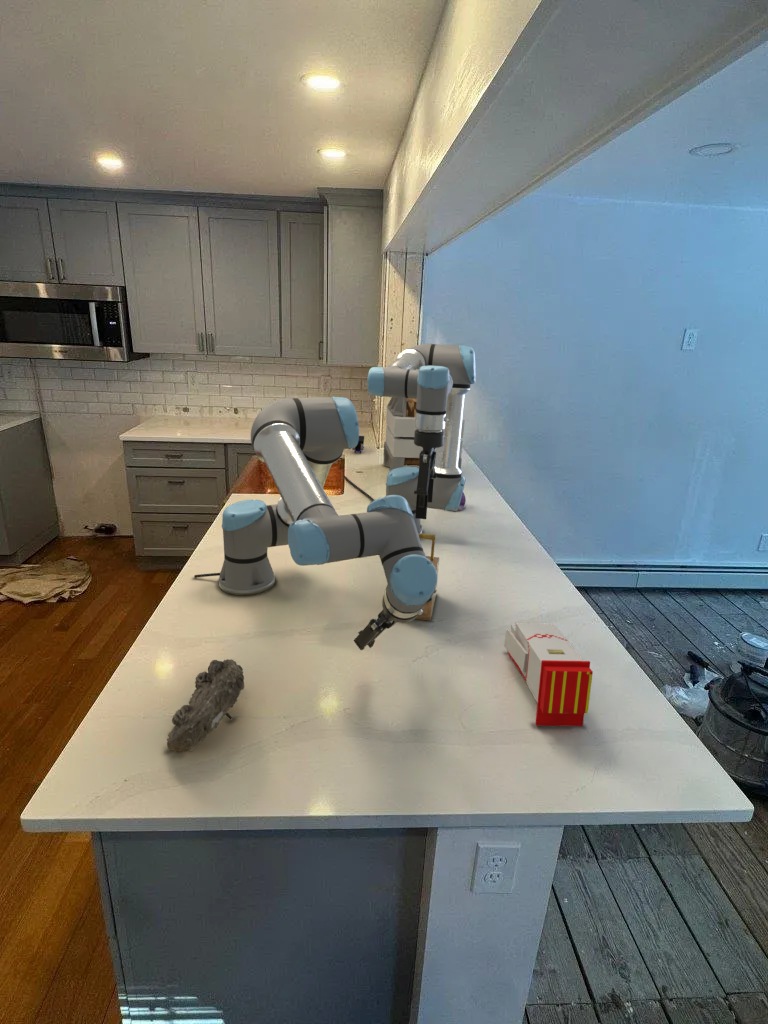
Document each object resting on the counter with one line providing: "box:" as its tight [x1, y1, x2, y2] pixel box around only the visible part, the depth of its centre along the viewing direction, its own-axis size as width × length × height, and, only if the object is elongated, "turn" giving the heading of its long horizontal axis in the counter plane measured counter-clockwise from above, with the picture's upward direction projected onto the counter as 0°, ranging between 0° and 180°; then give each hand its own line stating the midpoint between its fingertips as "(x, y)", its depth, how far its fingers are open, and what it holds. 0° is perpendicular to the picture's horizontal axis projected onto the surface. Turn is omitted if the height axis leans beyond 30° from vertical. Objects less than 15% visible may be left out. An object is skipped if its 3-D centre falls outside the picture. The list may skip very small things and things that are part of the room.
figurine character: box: [351, 435, 365, 454], centre depth 310 cm, size 7×8×15 cm
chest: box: [414, 562, 440, 621], centre depth 151 cm, size 14×10×10 cm
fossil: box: [166, 658, 245, 754], centre depth 106 cm, size 22×10×15 cm
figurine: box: [450, 492, 467, 512], centre depth 226 cm, size 9×10×15 cm
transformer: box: [383, 397, 465, 472], centre depth 268 cm, size 34×33×41 cm
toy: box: [503, 622, 594, 727], centre depth 121 cm, size 12×13×30 cm
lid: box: [418, 532, 440, 571], centre depth 148 cm, size 15×10×9 cm, turn 169°
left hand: (392, 622), depth 124 cm, fingers open, 13 cm apart
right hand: (424, 509), depth 149 cm, fingers open, 13 cm apart
